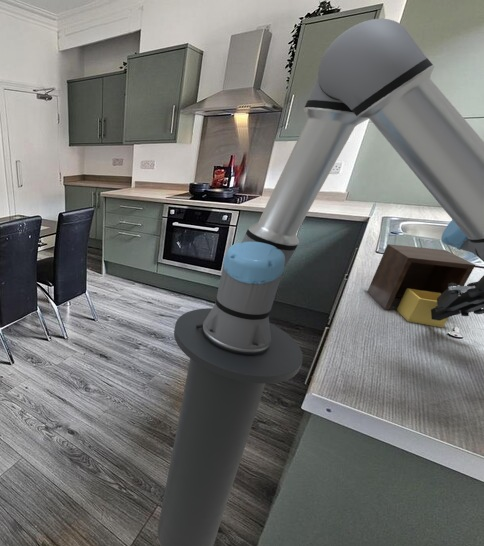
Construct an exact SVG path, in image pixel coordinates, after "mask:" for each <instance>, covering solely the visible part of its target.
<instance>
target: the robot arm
mask: <svg viewBox="0 0 484 546" xmlns="http://www.w3.org/2000/svg"><path fill="white" fill-rule="evenodd" d="M434 68H435V66H434V64H433V63H432V61H431V60H429V58H428V57H427V56H426V55H425V54H424V52H423V51H422V49H421V48H420V46H419V45H418V43H417V42H416V40H414V38H413V37H412V35H411V34H410V32H409V31H408V30H407V28H406V27H405V26H404V25H403V24H401V23H400V22H398V21H395V20H393V19H389V18H372V19H369V20H365V21H362V22H360V23H357V24H355V25H353V26H351V27H349V28H348V29H346V30H345V31H343V32H342V33H341V34H339V36H337V37H336V38H335V39H334V40H333V41H332V42H331V43H330V44H329V46H327V48H326V49H325V52H324V53H323V55H322V57H321V59H320V62H319V65H318V70H317V78H316V82H315V84H314V86H313V88H312V90H311V92H310V94H309V97H308V99H307V101H306V103H305V105H304V107H303V111H304V114H305V116H306V121H305V123H304V126H303V127H302V129H301V131H300V134H299V136H298V138H297V140H296V142H295V144H294V146H293V148H292V150H291V153H290V154H289V157H288V159H287V161H286V163H285V164H284V167H283V168H282V172H281V174H280V176H279V177H278V180H277V182H276V184H275V186H274V189H273V190H272V192H271V193H270V197H269V199H268V201H267V203H266V205H265V207H264V209H263V211H262V213H261V215H260V218H259V220H258V222H256V223H254V224H251V225H249V226H248V228H247V229H246V232H245V233H244V236H243V238H242V240H241V242H236V243H234V244H232V245H230V246H229V247H228V249H227V250H226V252H225V255H224V257H223V260H222V261H223V263H222V269H221V273H220V274H221V275H220V279H219V283H218V284H219V285H218V289H217V293H216V299H215V303H214V305H213V306H212V307H211V308H212V310H211V311H210V313H209V314H208V316H207V317H206V319H205V320H204V322H203V324H200V325H196V328H202V333H203V335H204V337H205V338H206V339H207V340H208V341H209V342H210V343H211V344H213V345H214V346H216V347H218V348H220V349H222V350H224V351H227V352H230V353H233V354H238V355H244V356H256V355H261V354H264V353H265V352H267V351H268V349H269V346H270V343H271V334H270V325H269V323H270V319H269V318H270V314H271V311H272V307H273V304H274V300H275V298H276V294H277V291H278V287H279V284H280V282H281V279H282V276H283V273H284V271H285V269H286V268H287V266H288V264H289V262H290V260H291V259H292V257H293V255H294V254H295V252H296V250H297V247H298V246H299V244H300V240H299V238H298V236H297V233H298V231H299V229H300V227H301V226H302V224H303V222H304V220H305V218H306V217H307V215H308V213H309V211H310V209H311V208H312V206H313V204H314V202H315V201H316V198H317V197H318V195H319V193H320V191H321V190H322V187H323V186H324V184H325V182H326V180H327V179H328V176H329V175H330V173H331V171H332V169H333V168H334V166H335V164H336V162H337V161H338V158H339V157H340V155H341V153H342V151H343V149H344V148H345V146H346V144H347V142H348V140H349V139H350V137H351V135H352V134H353V131H354V130H355V128H356V127H357V126H358V125H360V124H362V123H364V122H366V121H367V120H370V122H371V123H372V124H373V125H374V126H375V127H376V129H377V130H378V131H379V132H380V134H381V135H382V136H383V137H384V138H385V139H386V141H387V142H388V143H389V144H390V146H391V147H392V148H393V149H394V151H395V152H396V153H397V154H398V155H399V157H400V158H401V159H402V160H403V161H404V163H405V164H406V165H407V166H408V168H409V169H410V171H412V172H413V174H414V175H415V176H416V178H418V180H419V181H420V183H422V185H423V186H424V187H425V188H426V189H427V191H428V192H429V194H431V195H432V197H433V198H434V200H436V202H437V203H438V204H439V206H441V208H442V209H443V210H444V211H445V213H446V214H447V215H448V216H449V218H450V219H451V220H450V222H449V223H448V224H447V226H446V227H445V228H444V230H443V231H442V234H441V237H440V238H441V243H443V244H445V245H447V246H450V247H453V248H456V250H462V251H466V252H469V253H472V254H473V255H475V257H477V258H478V259H480V260H481V261H482V262H484V140H483V139H482V138H481V136H480V135H479V134H478V133H477V131H475V129H474V128H473V127H472V126H471V125H470V123H469V122H468V121H467V120H466V119H465V118H464V116H463V115H462V114H461V113H460V112H459V111H458V110H457V108H456V106H454V105H453V104H452V102H451V101H450V100H449V99H448V97H447V96H446V95H445V94H444V93H443V92H442V90H441V89H440V88H439V87H438V86H437V85H436V84H435V82H434V81H433V80H432V79H431V75H432V73H433V71H434ZM470 313H473V314H475V315H482V314H484V275H482V276H481V278H479V280H477V281H474V282H473V281H472V282H469V283H467V284H466V285H464V286H460V285H456V283H449V284H448V288H447V289H446V290H445V291H444V292H443V293H442V294H441V295H440V296H439V297H438V298H437V306H436V308H433V309H431V317H432V319H433V320H439V321H440V320H443V319H445V318H448V317H449V318H450V317H453V316H458V315H460V316H462V317H470ZM449 318H448V319H449Z"/></svg>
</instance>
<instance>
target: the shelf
mask: <svg viewBox="0 0 484 546" xmlns="http://www.w3.org/2000/svg"><path fill="white" fill-rule="evenodd" d="M475 267H476V264H474V263H473V262H470V261H468V260H467V259H464V258H463V257H460V256H459V255H456V254H455V253H452V252H450V251H449V250H446V249H440V248H431V247H430V248H429V247H419V246H411V245H400V244H389V243H388V244H386V247H385V249H384V252H383V254H382V256H381V259H380V261H379V264H378V266H377V268H376V271H375V273H374V275H373V277H372V280H371V282H370V284H369V287H368V289H367V293H368V294H369V295H370V296H371V297H372V298H373V299H374V300H375V301H376V303H378V305H379V306H380V307H381V308H382V309H383V310H385V311H389V310H390V308H391V306H392V305H393V302H394V300H395V298H401V299H402V297H403V295H404V293H405V291H406V289H407V288H408V289H415V290H422V291H429V292H436V293H441V294H442V293H443V292H444V291H445V290H446V289H447V288H448V284H449V283H456V285H460V286H466V283H467V281H468V279H469V277H470V276H471V274H472V272H473V271H474V269H475Z"/></svg>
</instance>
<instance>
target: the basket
mask: <svg viewBox="0 0 484 546" xmlns="http://www.w3.org/2000/svg"><path fill="white" fill-rule="evenodd" d="M440 295H441V293H436V292H429V291H422V290H415V289H408V288H407V289H406V291H405V293H404V295H403V297H402V298H401V300H400V301H399V303H398V306H397V308H396V311H397V312H398V313H399V314H400V315H401V316H402V317H403V318H404V319H405V320H406V321H407V322H409V323H414V324H422V325H427V326H432V327H438V328H444V327H445V325H446V323H447V322H448V320H449V318H450V317H448V318H445V319H443V320H440V321H439V320H433V319H432V317H431V309H433V308H436V306H437V298H438V297H439V296H440Z"/></svg>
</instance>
